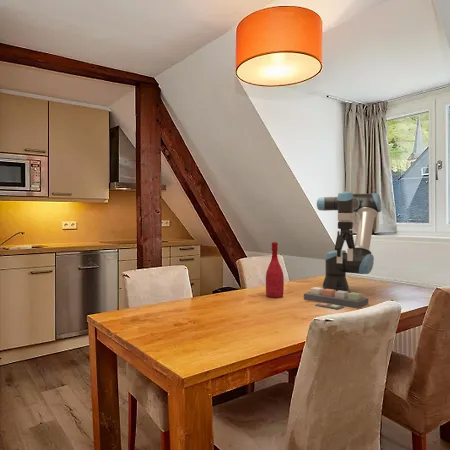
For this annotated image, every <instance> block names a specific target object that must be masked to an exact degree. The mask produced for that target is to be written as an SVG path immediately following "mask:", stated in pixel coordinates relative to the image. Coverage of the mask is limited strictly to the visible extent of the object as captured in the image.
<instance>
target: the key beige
mask: <svg viewBox="0 0 450 450" xmlns="http://www.w3.org/2000/svg"><path fill="white" fill-rule="evenodd" d="M348 293H349V290H348V291H340V290H339V291H336V292H335V297H337V298H344V299H345V298H347V297H348Z"/></svg>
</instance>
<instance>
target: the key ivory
mask: <svg viewBox="0 0 450 450" xmlns="http://www.w3.org/2000/svg"><path fill="white" fill-rule="evenodd" d="M322 290H324V288H323V287H318V286H314V287H310V292H311V294H318V295H320V294H322Z"/></svg>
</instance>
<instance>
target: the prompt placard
mask: <svg viewBox="0 0 450 450" xmlns="http://www.w3.org/2000/svg"><path fill="white" fill-rule="evenodd" d="M315 307H320V308H326V309H331V310H341V309H344V308H345V306H341V305H335V304H329V303H323V302H318V303H316V304H315Z"/></svg>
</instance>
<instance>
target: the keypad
mask: <svg viewBox="0 0 450 450" xmlns="http://www.w3.org/2000/svg"><path fill="white" fill-rule="evenodd" d="M303 300H305V301H310V302H311V301H313V302H318V303H327V304H333V305H339V306H344V307H348V308H352V309H353V308H354V309H361V308H363V307H365V306H367V305H369V297H364V296H362V299H361V300H358V301H357V300H350V299H348V297H347V298H345V299H344V298H337V297H335V296H332V297H331V296H324V295H322V294H320V295H318V294H311V291H308V292H305V293H303Z"/></svg>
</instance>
